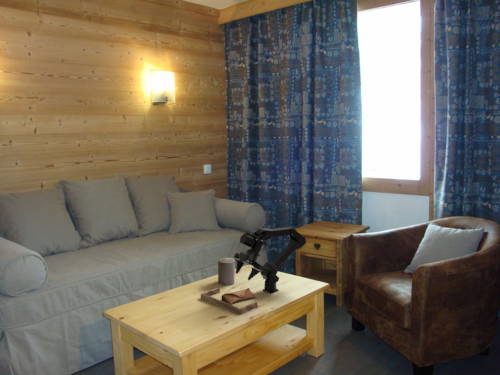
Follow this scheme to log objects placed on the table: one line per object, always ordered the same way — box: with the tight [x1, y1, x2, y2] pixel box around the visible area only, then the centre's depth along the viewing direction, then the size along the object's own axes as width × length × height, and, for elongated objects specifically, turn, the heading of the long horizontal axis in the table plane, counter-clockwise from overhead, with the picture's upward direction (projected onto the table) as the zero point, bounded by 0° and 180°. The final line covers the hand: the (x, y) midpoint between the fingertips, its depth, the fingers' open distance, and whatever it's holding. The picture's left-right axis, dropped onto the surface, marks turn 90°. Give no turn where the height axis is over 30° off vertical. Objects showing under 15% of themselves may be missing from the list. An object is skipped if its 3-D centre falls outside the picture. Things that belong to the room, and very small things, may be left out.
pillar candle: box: [217, 257, 236, 286], centre depth 266 cm, size 10×10×15 cm
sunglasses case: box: [221, 287, 258, 305], centre depth 243 cm, size 18×7×7 cm, turn 126°
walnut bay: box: [200, 287, 258, 315], centre depth 238 cm, size 13×29×2 cm, turn 47°
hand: (242, 276), depth 244 cm, fingers open, 9 cm apart
